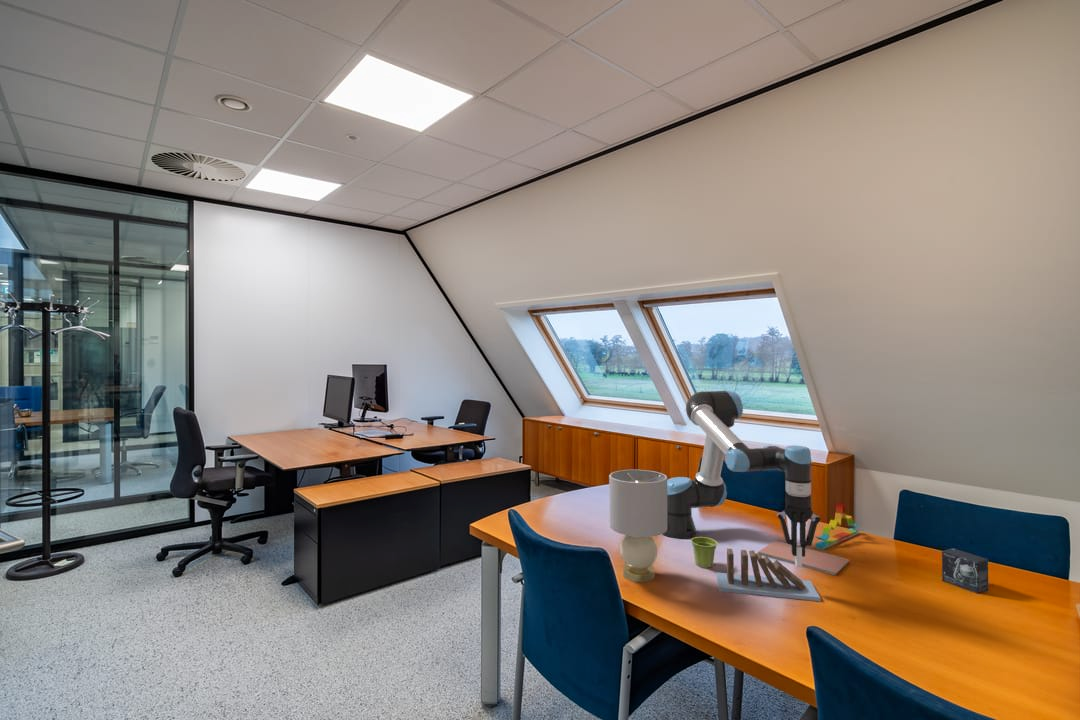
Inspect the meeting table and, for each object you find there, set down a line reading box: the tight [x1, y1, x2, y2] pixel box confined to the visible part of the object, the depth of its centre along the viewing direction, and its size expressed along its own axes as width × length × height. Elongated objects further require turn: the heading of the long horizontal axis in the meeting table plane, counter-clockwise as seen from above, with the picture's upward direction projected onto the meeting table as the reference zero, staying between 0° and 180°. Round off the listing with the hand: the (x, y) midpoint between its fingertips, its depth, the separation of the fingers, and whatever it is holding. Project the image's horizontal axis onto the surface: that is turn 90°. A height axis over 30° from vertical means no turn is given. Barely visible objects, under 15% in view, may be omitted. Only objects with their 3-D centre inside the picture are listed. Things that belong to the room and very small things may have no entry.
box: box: [941, 548, 990, 594], centre depth 169 cm, size 11×7×10 cm, turn 23°
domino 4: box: [755, 551, 776, 588], centre depth 169 cm, size 2×5×10 cm, turn 166°
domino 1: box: [726, 548, 735, 584], centre depth 172 cm, size 2×5×10 cm, turn 166°
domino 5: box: [762, 556, 791, 589], centre depth 168 cm, size 2×5×10 cm
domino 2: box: [740, 549, 749, 586], centre depth 171 cm, size 2×5×10 cm, turn 166°
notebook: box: [757, 540, 850, 576], centre depth 193 cm, size 27×17×2 cm, turn 44°
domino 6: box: [772, 559, 806, 591], centre depth 167 cm, size 2×5×10 cm
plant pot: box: [690, 536, 718, 569], centre depth 188 cm, size 9×9×9 cm
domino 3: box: [748, 549, 763, 587], centre depth 170 cm, size 2×5×10 cm, turn 166°
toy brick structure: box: [814, 502, 859, 551], centre depth 211 cm, size 30×3×15 cm, turn 125°
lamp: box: [608, 469, 668, 583], centre depth 179 cm, size 20×20×35 cm
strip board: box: [715, 572, 821, 602], centre depth 169 cm, size 30×12×1 cm, turn 76°
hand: (798, 565), depth 166 cm, fingers closed
